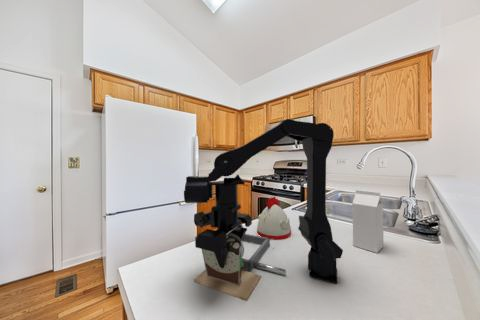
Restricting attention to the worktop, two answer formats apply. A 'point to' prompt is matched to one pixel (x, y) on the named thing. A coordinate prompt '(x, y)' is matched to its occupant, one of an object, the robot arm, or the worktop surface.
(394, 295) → the worktop surface
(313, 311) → the worktop surface
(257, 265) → the rod
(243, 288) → the pad
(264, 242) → the case
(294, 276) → the worktop surface
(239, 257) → the food container
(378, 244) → the milk carton
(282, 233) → the white knit beanie
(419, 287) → the worktop surface
